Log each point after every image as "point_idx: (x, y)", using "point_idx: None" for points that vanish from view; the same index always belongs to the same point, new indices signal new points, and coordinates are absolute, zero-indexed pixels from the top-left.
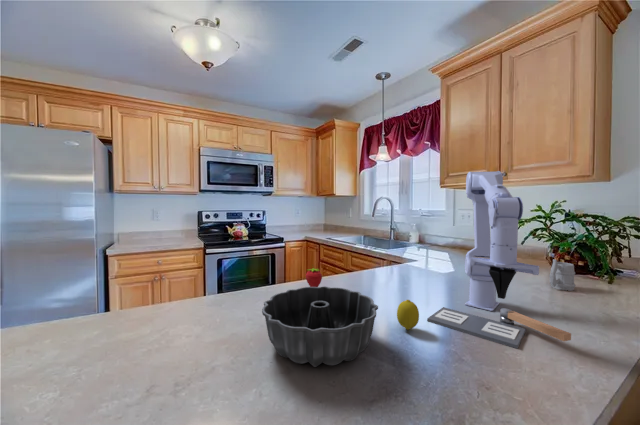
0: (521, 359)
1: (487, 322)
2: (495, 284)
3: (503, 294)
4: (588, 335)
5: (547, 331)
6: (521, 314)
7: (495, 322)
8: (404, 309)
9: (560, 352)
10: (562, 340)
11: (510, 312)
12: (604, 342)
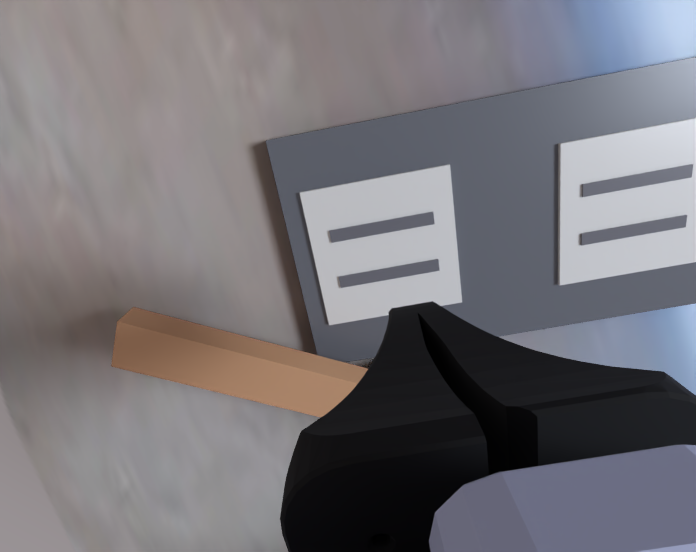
0: (208, 34)
1: (463, 294)
2: (493, 338)
3: (394, 316)
4: (173, 504)
5: (201, 333)
6: None
7: None
8: None
9: (156, 269)
10: (138, 309)
11: None
12: (120, 486)
